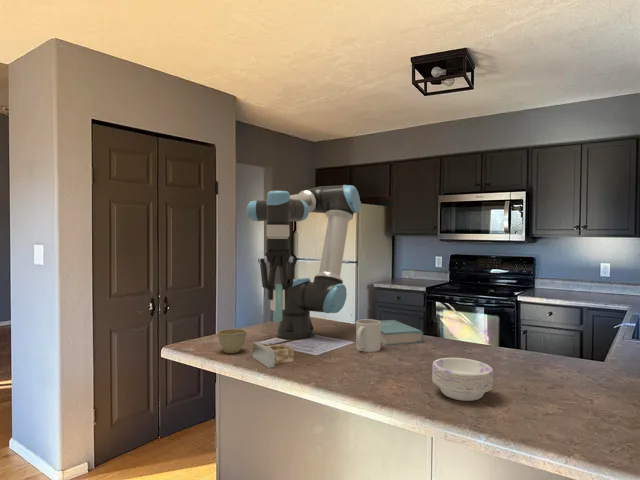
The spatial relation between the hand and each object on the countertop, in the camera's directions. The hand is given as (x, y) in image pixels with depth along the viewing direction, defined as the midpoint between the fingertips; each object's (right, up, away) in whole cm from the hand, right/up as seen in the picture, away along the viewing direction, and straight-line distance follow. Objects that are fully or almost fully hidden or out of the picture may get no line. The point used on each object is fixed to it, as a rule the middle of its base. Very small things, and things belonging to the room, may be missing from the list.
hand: (277, 309), depth 150 cm
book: (+43, -17, +35) cm, 58 cm away
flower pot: (-17, -17, +11) cm, 26 cm away
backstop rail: (-4, -17, -2) cm, 18 cm away
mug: (+31, -17, +15) cm, 38 cm away
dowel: (0, -4, 0) cm, 4 cm away
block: (0, -17, 0) cm, 17 cm away
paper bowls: (+51, -18, -31) cm, 62 cm away
